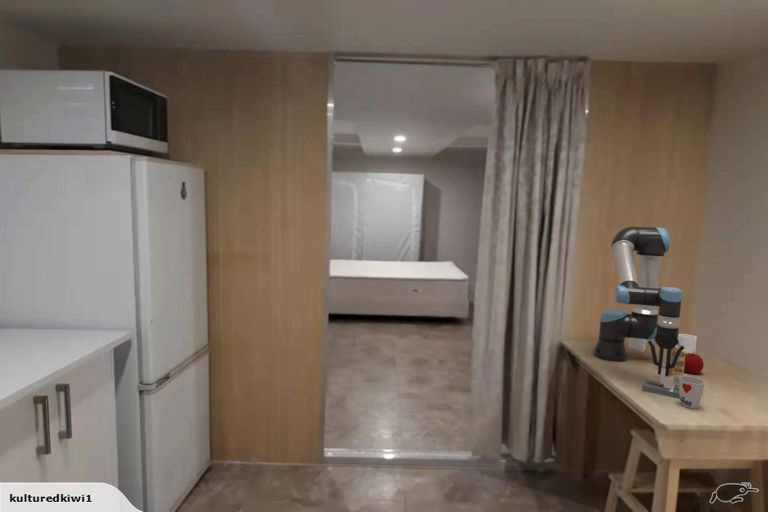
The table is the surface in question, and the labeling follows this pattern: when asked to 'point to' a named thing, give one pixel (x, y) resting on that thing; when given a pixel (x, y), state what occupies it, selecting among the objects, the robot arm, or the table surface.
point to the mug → (688, 342)
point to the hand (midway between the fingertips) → (662, 382)
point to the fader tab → (668, 382)
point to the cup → (690, 391)
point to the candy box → (677, 365)
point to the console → (660, 389)
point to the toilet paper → (637, 344)
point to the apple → (693, 363)
